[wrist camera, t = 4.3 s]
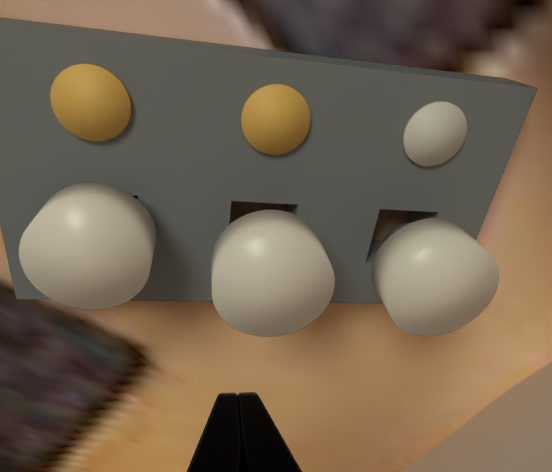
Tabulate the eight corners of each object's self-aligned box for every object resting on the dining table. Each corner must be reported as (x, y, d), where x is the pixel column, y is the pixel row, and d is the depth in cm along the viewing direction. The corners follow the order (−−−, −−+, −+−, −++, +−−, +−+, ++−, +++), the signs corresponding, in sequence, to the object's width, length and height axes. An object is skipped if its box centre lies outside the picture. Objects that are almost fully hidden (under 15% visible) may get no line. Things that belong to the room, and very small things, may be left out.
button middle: (303, 278, 18) (322, 336, 15) (208, 276, 17) (208, 336, 14) (320, 192, 16) (346, 238, 13) (213, 185, 15) (215, 233, 12)
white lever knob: (433, 281, 19) (475, 335, 16) (348, 279, 18) (376, 336, 15) (463, 201, 17) (517, 245, 14) (369, 195, 17) (406, 241, 14)
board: (431, 279, 22) (451, 306, 20) (33, 270, 19) (14, 302, 17) (504, 78, 17) (541, 89, 15) (-13, 16, 14) (-48, 20, 12)
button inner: (160, 257, 18) (151, 310, 15) (60, 254, 17) (29, 309, 14) (160, 168, 16) (149, 209, 13) (46, 161, 16) (8, 202, 12)
